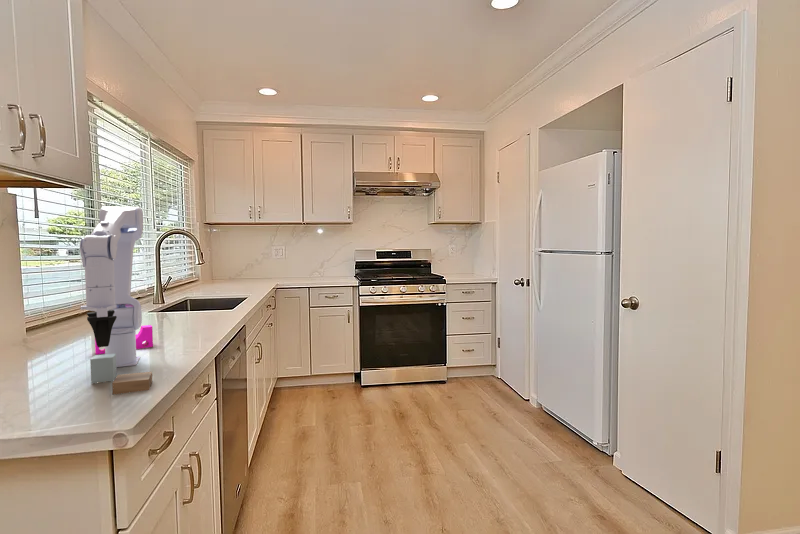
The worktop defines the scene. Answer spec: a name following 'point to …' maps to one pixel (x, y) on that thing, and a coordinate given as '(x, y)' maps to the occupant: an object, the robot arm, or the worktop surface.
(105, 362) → the slate block
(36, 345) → the worktop surface
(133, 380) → the walnut plinth
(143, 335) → the toy block
